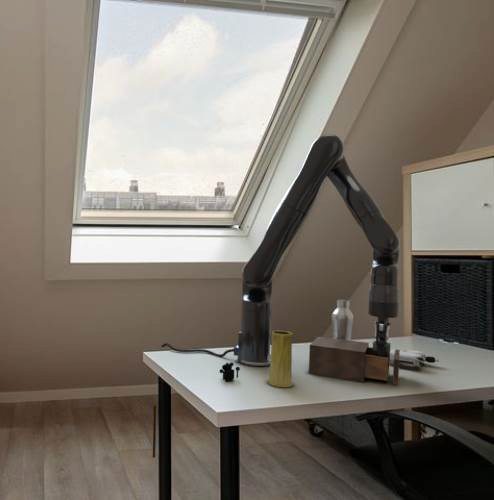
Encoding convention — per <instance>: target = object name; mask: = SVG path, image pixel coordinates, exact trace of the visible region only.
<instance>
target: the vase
mask: <svg viewBox="0 0 494 500" xmlns="http://www.w3.org/2000/svg"><path fill="white" fill-rule="evenodd" d="M292 347H293V333H292V332H291V331H287V330H271V341H270V355H271V359H270V365H269V378H268V384H269V385H271V386H273V387H277V388H290V387H292V386H293V381H292V380H293V379H292V378H293V376H292V372H293V371H292V363H293V361H292V359H293V358H292V357H293V355H292V354H293V353H292V352H293V351H292V349H293V348H292Z"/></svg>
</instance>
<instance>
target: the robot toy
mask: <svg viewBox="0 0 494 500" xmlns="http://www.w3.org/2000/svg"><path fill="white" fill-rule="evenodd" d="M394 354H395V349H390V364H392V365H394ZM399 360H404V361H411V362H414V361H418V362H419V364H420V366H422V365H424V363H429V364H435V363H438V362H440V359H439V358H435V357H434V356H429V355H428V356H426V353H424V352H423V351H419V350H413V349H409V350H400V358H399ZM399 365H406V366H413V364H408V363H401V362H399Z"/></svg>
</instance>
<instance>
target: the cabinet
mask: <svg viewBox="0 0 494 500" xmlns="http://www.w3.org/2000/svg"><path fill="white" fill-rule="evenodd" d="M368 347H370V343H369V342H366V341H357V340H351V341H350V340H342V339H334V338H333V337H324V336H317V337H316V338H315V339H314V340H313V341H312V342H311V343H310V344H309V356H308V357H309V358H308V374H310V375H315V376H321V377H326V378H328V377H329V378H332V379H333V378H334V379H339V380H347V381H352V382H359V383H365V381H366V377H364V370H365V353H366V351H367V348H368Z"/></svg>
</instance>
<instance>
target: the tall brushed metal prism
mask: <svg viewBox="0 0 494 500" xmlns="http://www.w3.org/2000/svg"><path fill="white" fill-rule="evenodd" d="M375 341H376V340H373V341H372V348H373V351H375V356H376V351H377V346H376V343H375ZM386 343H387V346H386V352H385V357H387V353H390V350H391V346H392V345H391V344H392V343H391V342H388V341H387V342H386Z"/></svg>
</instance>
